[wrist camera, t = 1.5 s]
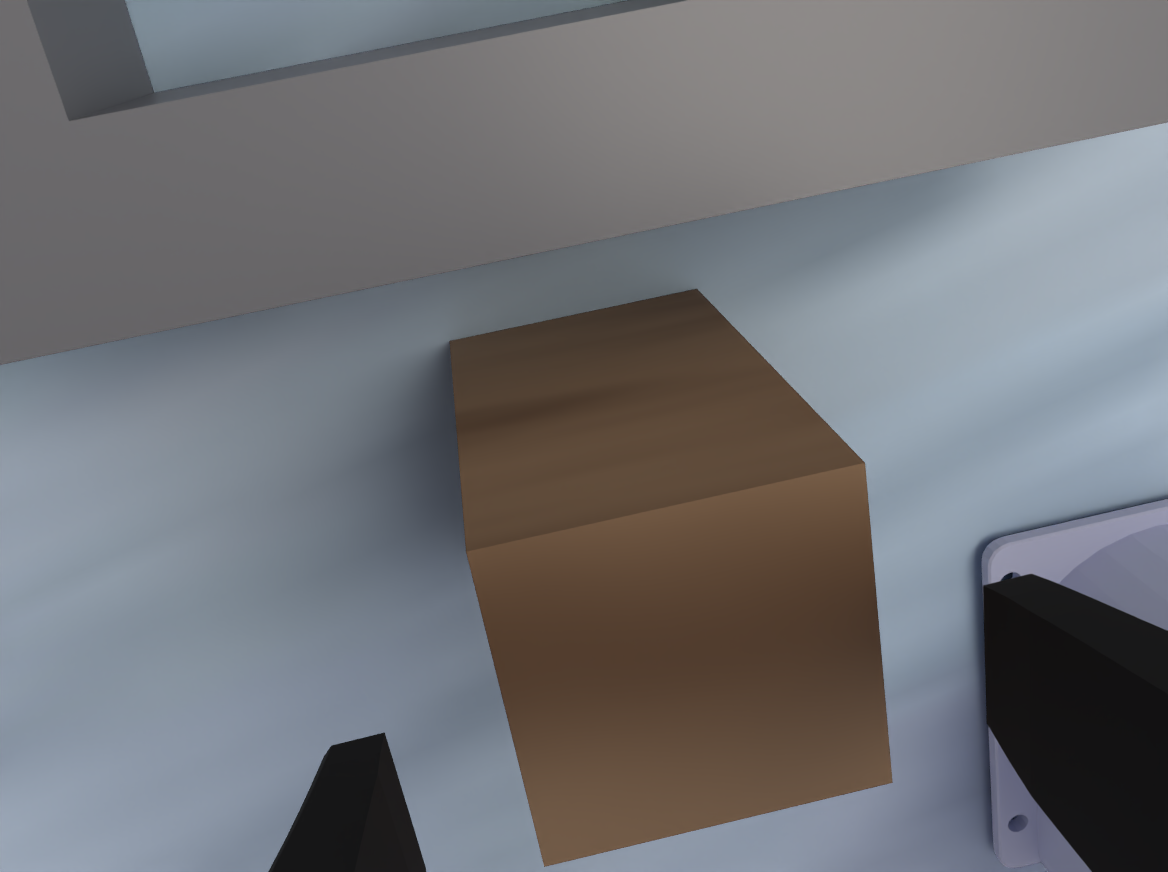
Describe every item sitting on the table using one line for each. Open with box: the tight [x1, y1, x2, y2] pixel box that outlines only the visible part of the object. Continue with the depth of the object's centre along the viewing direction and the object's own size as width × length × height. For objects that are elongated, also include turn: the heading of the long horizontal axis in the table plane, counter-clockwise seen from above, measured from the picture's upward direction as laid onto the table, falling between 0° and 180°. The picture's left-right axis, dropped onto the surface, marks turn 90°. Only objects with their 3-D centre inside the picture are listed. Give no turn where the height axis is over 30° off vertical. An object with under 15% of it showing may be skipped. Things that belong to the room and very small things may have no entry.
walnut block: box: [450, 289, 892, 867], centre depth 18 cm, size 5×5×9 cm
